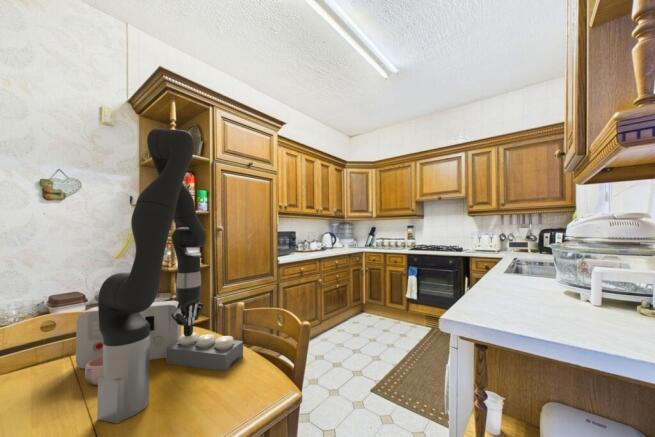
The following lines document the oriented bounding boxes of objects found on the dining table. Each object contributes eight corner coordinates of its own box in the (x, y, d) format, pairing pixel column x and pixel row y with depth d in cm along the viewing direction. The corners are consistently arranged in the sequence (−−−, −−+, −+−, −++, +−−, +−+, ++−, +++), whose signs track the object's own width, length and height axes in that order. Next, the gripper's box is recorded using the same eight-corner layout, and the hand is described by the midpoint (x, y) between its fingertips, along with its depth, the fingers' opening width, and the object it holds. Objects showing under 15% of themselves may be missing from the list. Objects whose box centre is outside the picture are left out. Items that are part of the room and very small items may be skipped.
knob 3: (226, 362, 83) (226, 343, 83) (211, 361, 84) (211, 342, 85) (236, 354, 89) (236, 336, 89) (221, 352, 90) (221, 335, 90)
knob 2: (207, 360, 85) (207, 341, 85) (192, 358, 86) (192, 340, 86) (218, 352, 90) (218, 334, 90) (204, 350, 92) (204, 333, 92)
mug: (103, 391, 71) (103, 369, 72) (75, 387, 73) (75, 365, 73) (142, 368, 83) (143, 349, 83) (117, 364, 85) (117, 346, 85)
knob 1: (189, 358, 86) (189, 339, 87) (174, 356, 88) (175, 338, 88) (200, 350, 92) (201, 333, 92) (187, 348, 93) (187, 331, 93)
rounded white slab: (70, 374, 80) (71, 314, 80) (85, 361, 87) (86, 307, 88) (175, 359, 88) (176, 305, 89) (180, 349, 96) (181, 299, 96)
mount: (225, 371, 81) (225, 355, 81) (166, 363, 86) (166, 347, 86) (243, 355, 90) (243, 341, 91) (188, 349, 95) (189, 335, 96)
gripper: (183, 289, 83) (183, 344, 83) (210, 281, 96) (210, 328, 96) (163, 288, 85) (163, 342, 84) (193, 280, 98) (192, 327, 97)
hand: (188, 335), depth 90 cm, fingers closed
